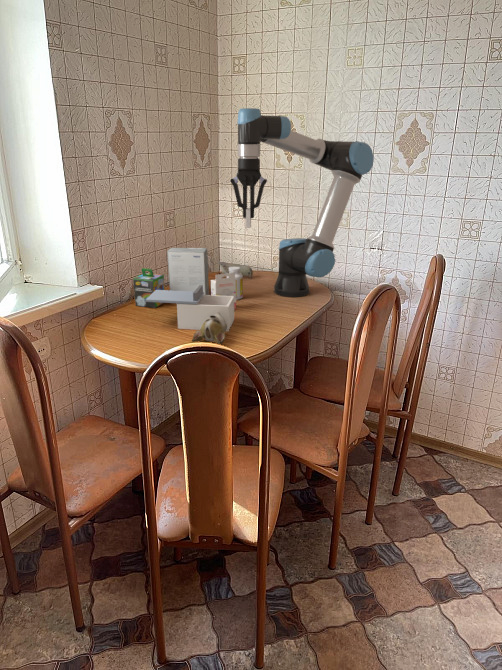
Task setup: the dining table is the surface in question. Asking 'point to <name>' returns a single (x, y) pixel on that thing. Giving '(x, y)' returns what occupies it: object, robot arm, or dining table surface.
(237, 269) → the supplement bottle
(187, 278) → the hard drive box
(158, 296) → the lid
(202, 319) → the box
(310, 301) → the dining table surface
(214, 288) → the ink cartridge box
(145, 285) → the chalk box
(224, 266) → the decorative bird
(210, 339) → the ceramic sculpture
